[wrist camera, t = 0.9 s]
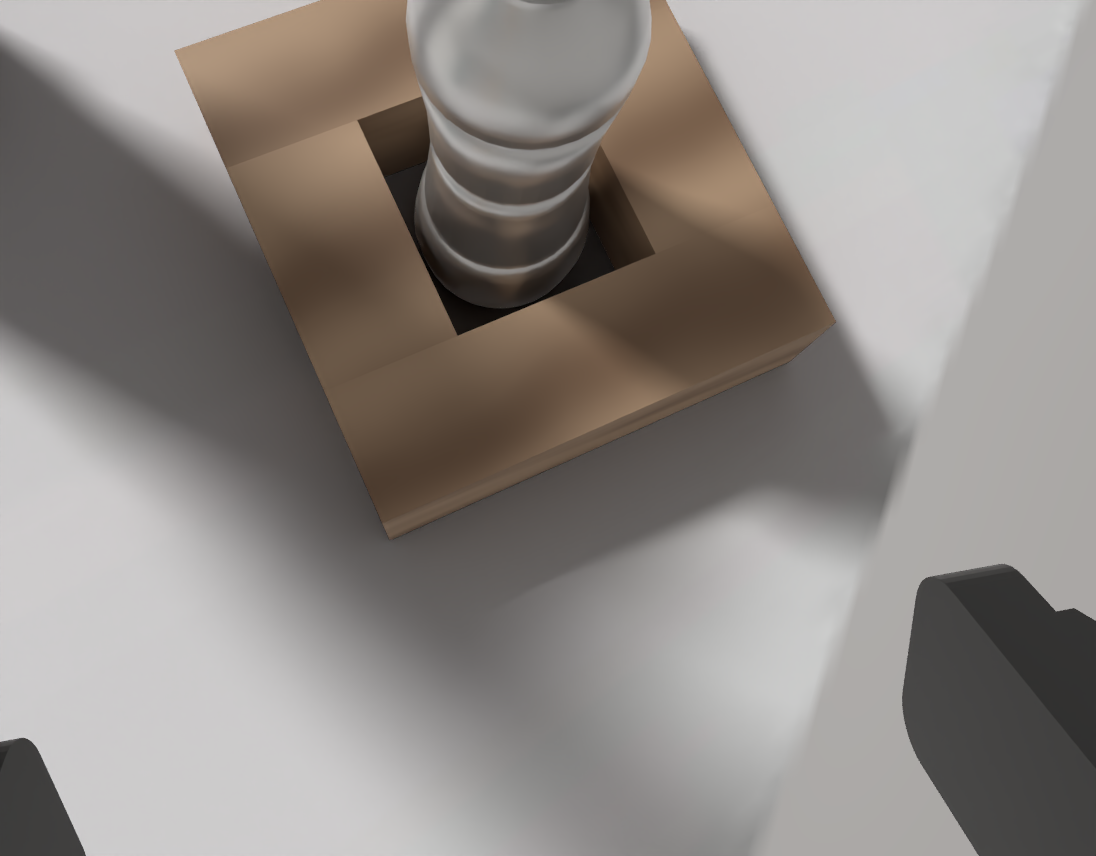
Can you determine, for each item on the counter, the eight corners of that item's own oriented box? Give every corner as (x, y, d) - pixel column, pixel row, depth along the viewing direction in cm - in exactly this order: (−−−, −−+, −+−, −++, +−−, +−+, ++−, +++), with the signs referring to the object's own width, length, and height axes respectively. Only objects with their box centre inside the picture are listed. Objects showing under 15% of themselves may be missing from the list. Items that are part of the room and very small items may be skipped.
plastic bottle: (390, 291, 40) (342, -51, 21) (450, 140, 42) (458, -307, 22) (548, 347, 40) (646, 61, 21) (602, 196, 42) (740, -202, 23)
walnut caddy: (205, 122, 41) (174, 50, 36) (593, -17, 44) (612, -100, 39) (389, 540, 38) (382, 523, 33) (789, 361, 41) (836, 322, 36)
